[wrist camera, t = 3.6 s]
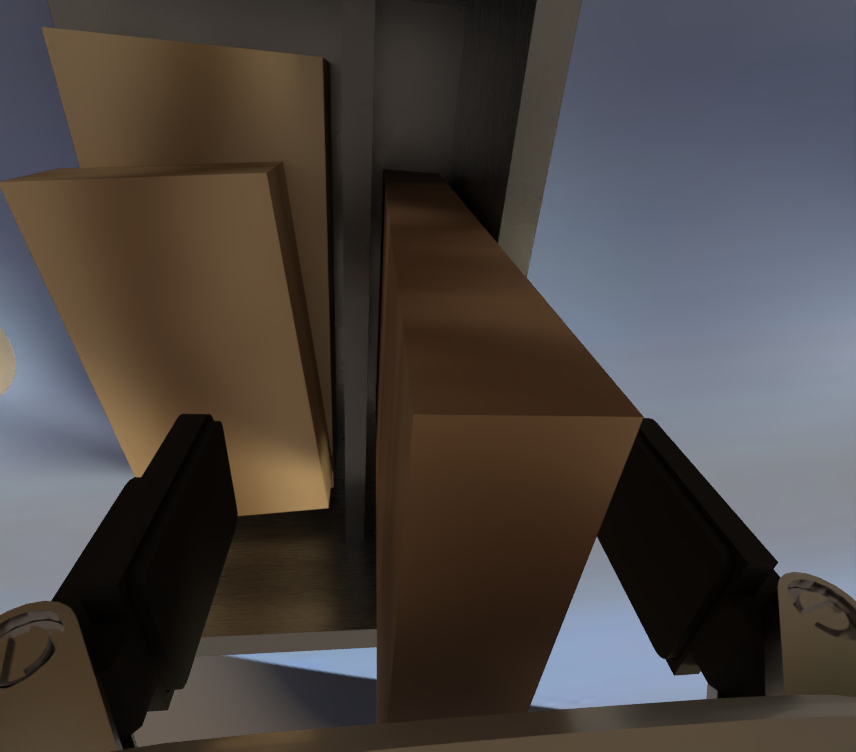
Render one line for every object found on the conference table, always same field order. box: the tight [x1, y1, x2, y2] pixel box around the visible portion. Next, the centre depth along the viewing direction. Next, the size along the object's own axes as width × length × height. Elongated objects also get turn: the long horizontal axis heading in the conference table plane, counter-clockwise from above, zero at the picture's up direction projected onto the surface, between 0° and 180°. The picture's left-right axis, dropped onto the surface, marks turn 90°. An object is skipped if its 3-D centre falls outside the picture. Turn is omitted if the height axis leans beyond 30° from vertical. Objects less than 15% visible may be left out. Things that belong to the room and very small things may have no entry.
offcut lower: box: [42, 27, 337, 488], centre depth 17 cm, size 7×16×2 cm, turn 175°
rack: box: [47, 0, 582, 657], centre depth 16 cm, size 13×22×9 cm, turn 175°
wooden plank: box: [376, 169, 643, 724], centre depth 13 cm, size 2×10×15 cm, turn 175°
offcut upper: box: [0, 161, 333, 516], centre depth 16 cm, size 6×12×2 cm, turn 1°
